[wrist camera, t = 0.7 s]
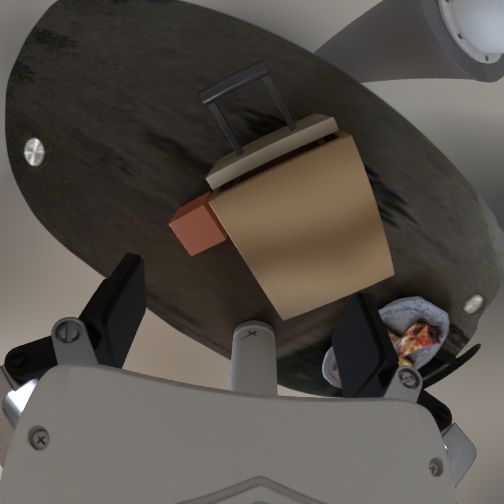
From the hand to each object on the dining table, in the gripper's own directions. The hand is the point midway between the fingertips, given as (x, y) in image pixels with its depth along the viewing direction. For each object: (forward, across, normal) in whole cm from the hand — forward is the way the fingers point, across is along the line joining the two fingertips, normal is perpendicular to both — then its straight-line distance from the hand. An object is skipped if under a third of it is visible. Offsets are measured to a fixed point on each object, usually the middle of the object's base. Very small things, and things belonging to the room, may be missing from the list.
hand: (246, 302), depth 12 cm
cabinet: (+21, -6, +2) cm, 22 cm away
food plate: (+21, -29, +24) cm, 43 cm away
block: (+21, +5, +6) cm, 22 cm away
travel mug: (+21, -5, +24) cm, 32 cm away
